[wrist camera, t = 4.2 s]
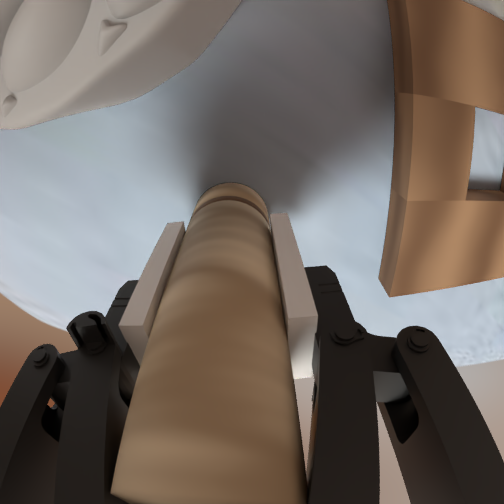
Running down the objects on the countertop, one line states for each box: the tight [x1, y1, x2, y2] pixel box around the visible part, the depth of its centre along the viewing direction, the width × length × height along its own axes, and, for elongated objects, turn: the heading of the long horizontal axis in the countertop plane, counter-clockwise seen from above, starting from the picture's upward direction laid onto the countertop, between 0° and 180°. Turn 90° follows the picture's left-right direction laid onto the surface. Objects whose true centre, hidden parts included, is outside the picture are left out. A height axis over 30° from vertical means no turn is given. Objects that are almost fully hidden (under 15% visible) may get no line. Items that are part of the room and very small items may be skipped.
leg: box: [110, 183, 308, 504], centre depth 10 cm, size 4×4×14 cm
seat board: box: [378, 0, 504, 297], centre depth 13 cm, size 14×18×2 cm
